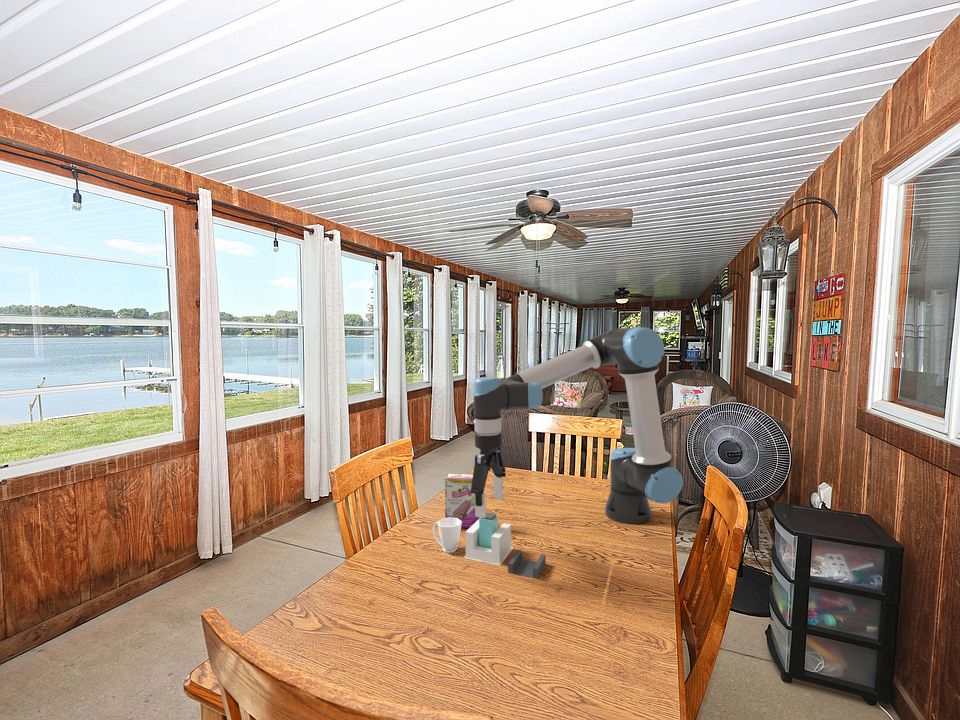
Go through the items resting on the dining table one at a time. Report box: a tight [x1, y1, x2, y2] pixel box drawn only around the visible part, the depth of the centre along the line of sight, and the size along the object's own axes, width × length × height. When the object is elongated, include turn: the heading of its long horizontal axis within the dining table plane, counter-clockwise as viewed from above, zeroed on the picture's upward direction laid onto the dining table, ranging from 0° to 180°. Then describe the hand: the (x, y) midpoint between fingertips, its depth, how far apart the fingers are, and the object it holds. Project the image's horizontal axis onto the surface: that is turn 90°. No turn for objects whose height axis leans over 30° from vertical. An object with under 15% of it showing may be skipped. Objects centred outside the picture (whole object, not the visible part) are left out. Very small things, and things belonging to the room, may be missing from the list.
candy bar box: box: [444, 473, 481, 529], centre depth 143 cm, size 11×5×16 cm, turn 84°
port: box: [462, 519, 514, 567], centre depth 124 cm, size 11×11×8 cm
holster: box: [507, 549, 547, 580], centre depth 115 cm, size 8×8×3 cm
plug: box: [479, 512, 499, 549], centre depth 124 cm, size 4×4×11 cm
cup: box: [431, 517, 462, 554], centre depth 128 cm, size 7×10×8 cm
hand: (489, 507), depth 123 cm, fingers open, 13 cm apart
